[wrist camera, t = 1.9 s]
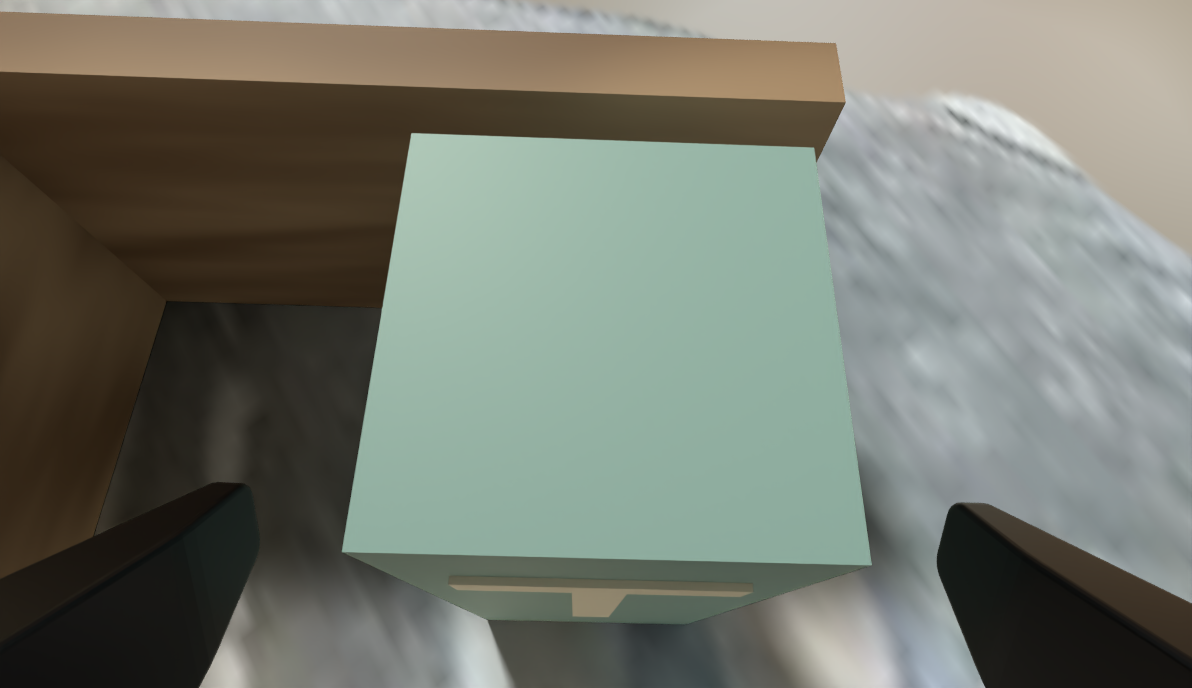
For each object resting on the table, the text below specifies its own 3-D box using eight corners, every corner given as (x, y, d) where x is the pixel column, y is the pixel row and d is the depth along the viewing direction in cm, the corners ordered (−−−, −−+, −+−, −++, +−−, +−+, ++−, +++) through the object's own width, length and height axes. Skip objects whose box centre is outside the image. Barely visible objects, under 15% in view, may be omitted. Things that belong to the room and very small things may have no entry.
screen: (767, 697, 17) (951, 731, 9) (-16, 679, 17) (-597, 699, 8) (737, 275, 22) (835, 42, 14) (130, 256, 21) (-144, 6, 13)
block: (686, 628, 17) (872, 576, 7) (486, 624, 17) (339, 563, 6) (680, 433, 20) (814, 147, 9) (502, 428, 19) (411, 133, 9)
